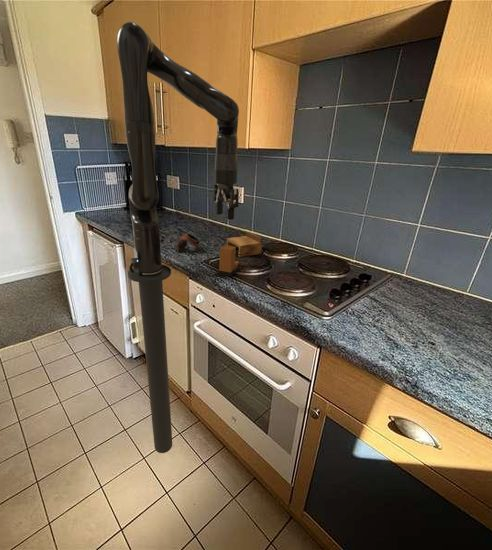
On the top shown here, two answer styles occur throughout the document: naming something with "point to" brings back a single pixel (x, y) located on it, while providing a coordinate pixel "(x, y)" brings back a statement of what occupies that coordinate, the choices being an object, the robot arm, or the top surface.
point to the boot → (227, 261)
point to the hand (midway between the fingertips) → (224, 216)
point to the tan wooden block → (246, 244)
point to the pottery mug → (184, 241)
